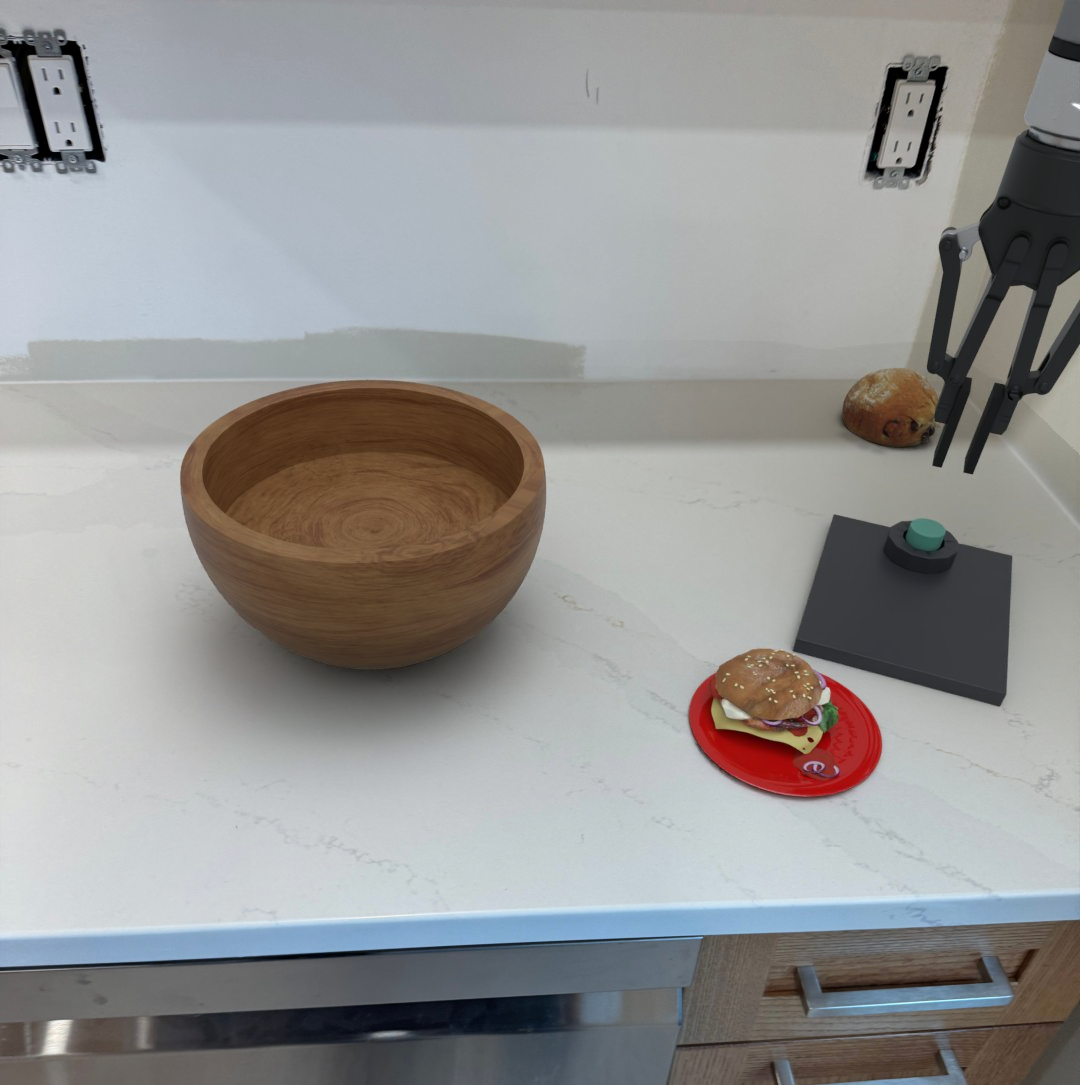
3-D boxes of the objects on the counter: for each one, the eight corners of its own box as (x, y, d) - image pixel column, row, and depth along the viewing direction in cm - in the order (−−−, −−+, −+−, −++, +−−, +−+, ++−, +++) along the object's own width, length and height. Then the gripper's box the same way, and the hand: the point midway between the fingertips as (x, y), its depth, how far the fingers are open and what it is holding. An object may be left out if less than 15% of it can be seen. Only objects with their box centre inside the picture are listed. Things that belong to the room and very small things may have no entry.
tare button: (941, 537, 85) (947, 522, 84) (938, 555, 83) (944, 540, 82) (906, 529, 85) (912, 514, 84) (903, 547, 83) (909, 531, 82)
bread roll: (900, 438, 111) (903, 365, 108) (962, 441, 102) (967, 361, 99) (826, 448, 108) (827, 373, 106) (883, 452, 99) (885, 370, 96)
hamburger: (667, 765, 67) (680, 703, 63) (711, 647, 76) (725, 586, 72) (869, 824, 64) (896, 763, 60) (889, 693, 73) (914, 633, 69)
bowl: (476, 778, 65) (476, 602, 55) (153, 694, 70) (95, 516, 59) (574, 576, 83) (588, 412, 72) (310, 518, 87) (287, 356, 76)
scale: (1006, 568, 86) (1019, 540, 84) (999, 707, 73) (1015, 678, 71) (829, 526, 90) (838, 498, 88) (792, 651, 77) (800, 622, 74)
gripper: (959, 133, 61) (856, 463, 78) (1210, 167, 58) (1048, 505, 74) (965, 109, 66) (868, 424, 83) (1197, 139, 63) (1047, 461, 80)
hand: (953, 462), depth 79 cm, fingers closed
